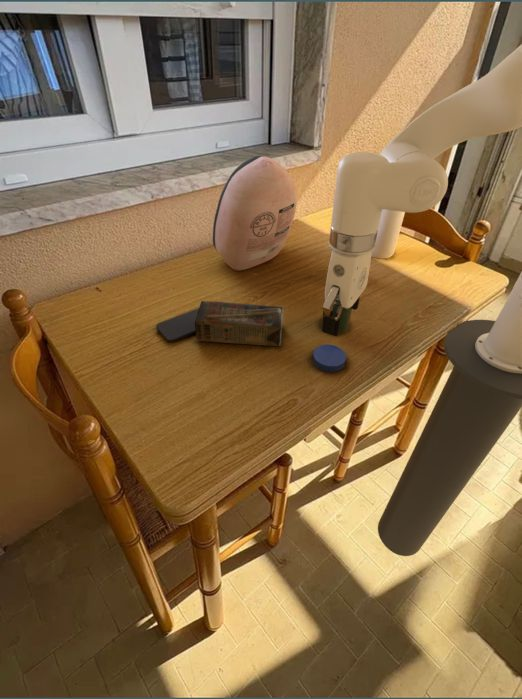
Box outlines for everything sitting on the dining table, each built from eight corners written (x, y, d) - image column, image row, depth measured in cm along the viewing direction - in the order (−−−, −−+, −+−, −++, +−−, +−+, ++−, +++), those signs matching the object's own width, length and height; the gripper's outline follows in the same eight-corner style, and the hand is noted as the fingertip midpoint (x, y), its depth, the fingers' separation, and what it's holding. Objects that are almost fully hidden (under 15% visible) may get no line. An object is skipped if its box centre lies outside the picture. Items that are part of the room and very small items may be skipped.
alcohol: (360, 247, 121) (381, 143, 101) (386, 245, 123) (411, 141, 103) (371, 260, 115) (395, 151, 95) (398, 258, 116) (428, 150, 96)
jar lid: (328, 345, 85) (329, 340, 84) (352, 362, 81) (353, 356, 80) (305, 358, 82) (306, 353, 81) (329, 376, 78) (330, 371, 77)
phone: (226, 318, 91) (168, 341, 84) (226, 320, 91) (169, 344, 84) (210, 303, 95) (154, 324, 88) (210, 306, 96) (155, 327, 89)
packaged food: (262, 241, 123) (264, 138, 104) (304, 265, 112) (315, 154, 92) (205, 261, 113) (195, 151, 93) (245, 290, 102) (243, 171, 82)
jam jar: (352, 322, 91) (359, 291, 85) (342, 337, 87) (348, 305, 81) (327, 314, 94) (332, 283, 88) (316, 327, 90) (321, 296, 84)
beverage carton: (281, 348, 84) (282, 325, 79) (195, 343, 85) (192, 319, 80) (282, 326, 90) (283, 303, 85) (201, 321, 91) (199, 298, 86)
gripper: (355, 265, 56) (341, 351, 67) (391, 222, 67) (373, 303, 78) (309, 253, 59) (302, 338, 70) (350, 214, 70) (339, 293, 81)
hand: (340, 319), depth 74 cm, fingers open, 9 cm apart
